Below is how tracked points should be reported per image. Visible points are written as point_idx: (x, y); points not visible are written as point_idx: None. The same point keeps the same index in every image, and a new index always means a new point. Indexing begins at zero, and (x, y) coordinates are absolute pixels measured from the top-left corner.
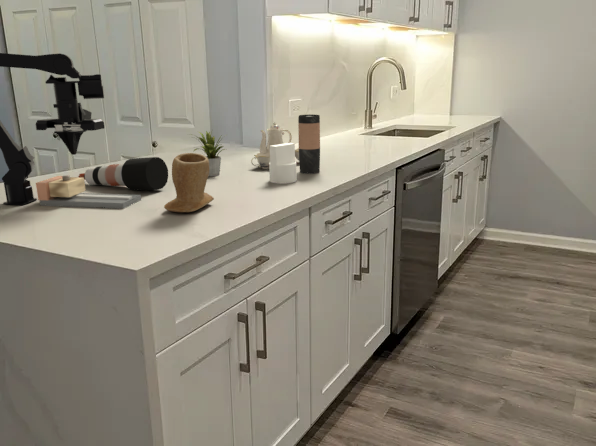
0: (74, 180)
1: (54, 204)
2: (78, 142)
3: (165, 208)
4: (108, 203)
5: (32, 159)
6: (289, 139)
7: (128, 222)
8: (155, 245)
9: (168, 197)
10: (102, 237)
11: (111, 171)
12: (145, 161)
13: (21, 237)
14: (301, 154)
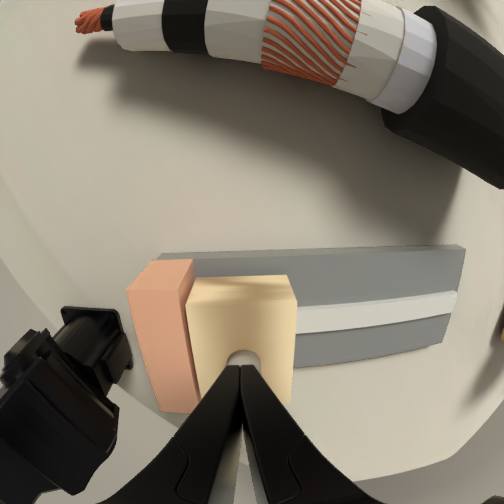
0: (288, 362)
1: None
2: (308, 443)
3: (501, 340)
4: (407, 349)
5: (74, 430)
6: None
7: (448, 395)
8: (468, 427)
9: (498, 205)
10: (420, 442)
11: (317, 59)
12: None
13: None
14: None
